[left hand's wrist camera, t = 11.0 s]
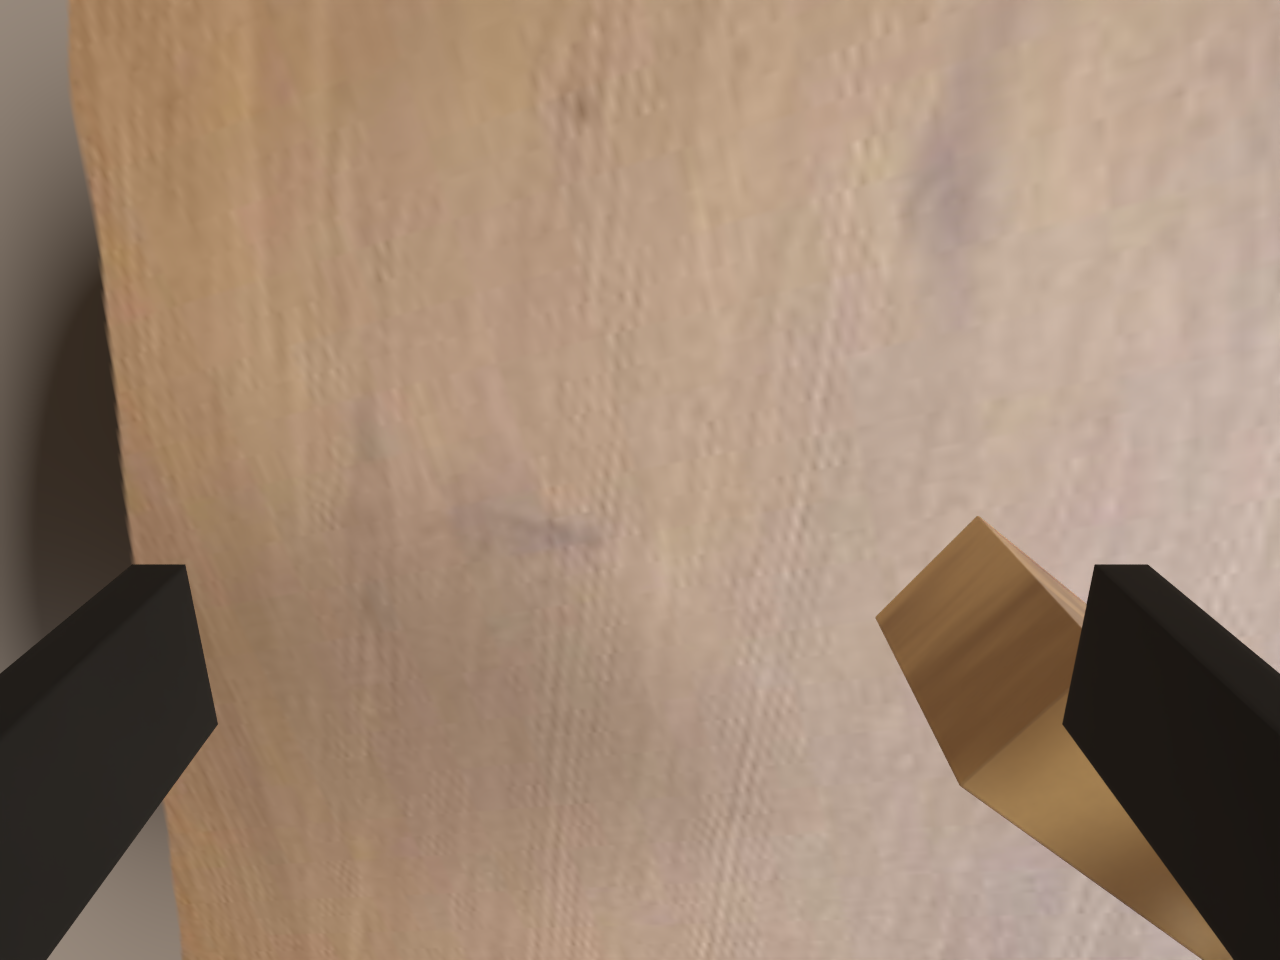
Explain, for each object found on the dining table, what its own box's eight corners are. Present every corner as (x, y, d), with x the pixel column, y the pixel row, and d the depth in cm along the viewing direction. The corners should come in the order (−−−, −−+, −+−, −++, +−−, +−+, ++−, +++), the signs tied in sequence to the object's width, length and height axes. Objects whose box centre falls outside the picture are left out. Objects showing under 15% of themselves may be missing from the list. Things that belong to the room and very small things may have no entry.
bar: (874, 616, 31) (958, 786, 23) (977, 514, 30) (1107, 655, 22) (1258, 907, 36) (1444, 1134, 28) (1363, 830, 35) (1591, 1045, 26)
